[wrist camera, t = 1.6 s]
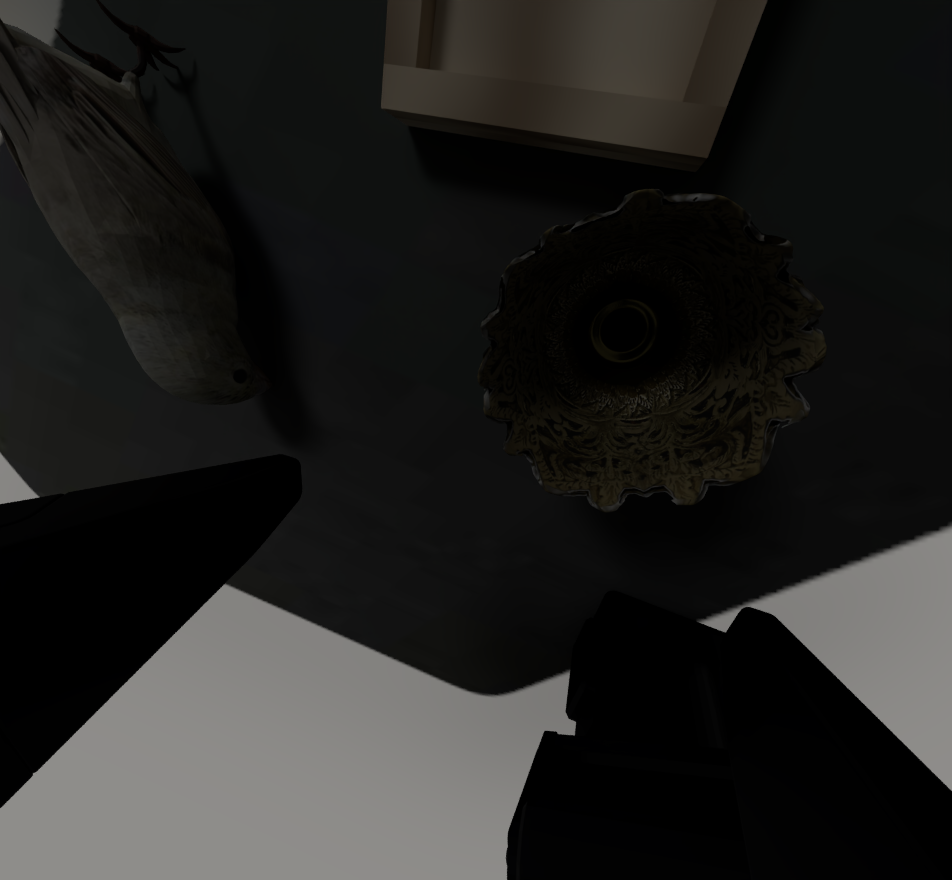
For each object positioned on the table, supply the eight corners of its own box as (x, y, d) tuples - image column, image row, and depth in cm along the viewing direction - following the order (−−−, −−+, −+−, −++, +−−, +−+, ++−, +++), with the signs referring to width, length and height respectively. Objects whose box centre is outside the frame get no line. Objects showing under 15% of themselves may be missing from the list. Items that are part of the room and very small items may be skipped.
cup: (724, 196, 13) (839, 120, 6) (733, 400, 16) (826, 506, 9) (516, 260, 16) (440, 254, 9) (549, 425, 19) (509, 519, 12)
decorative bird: (241, 393, 24) (104, 438, 18) (114, 71, 19) (-149, -32, 12) (309, 384, 22) (184, 431, 16) (189, 23, 17) (-75, -129, 10)
